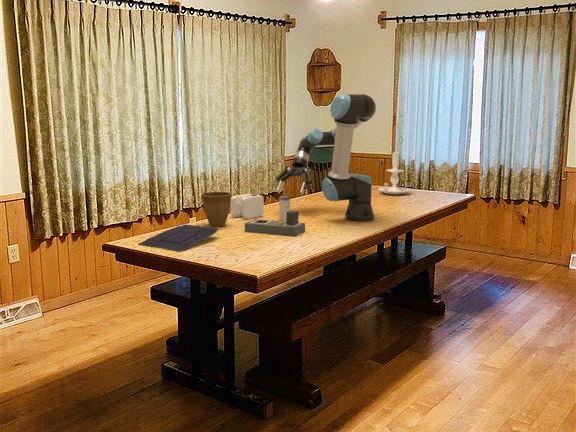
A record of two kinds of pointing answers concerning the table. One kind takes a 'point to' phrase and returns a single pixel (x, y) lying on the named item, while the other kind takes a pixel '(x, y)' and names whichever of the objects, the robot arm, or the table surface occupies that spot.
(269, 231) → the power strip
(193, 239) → the dark blue folded cloth
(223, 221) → the plant pot
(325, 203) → the table surface
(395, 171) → the candlestick
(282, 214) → the plug
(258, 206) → the white lumpy block
